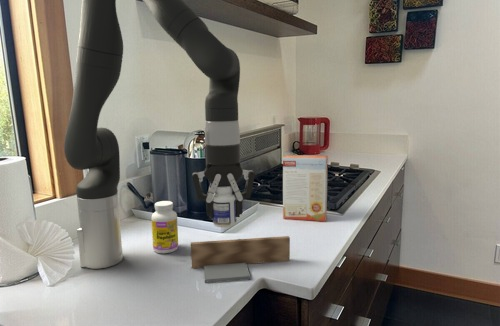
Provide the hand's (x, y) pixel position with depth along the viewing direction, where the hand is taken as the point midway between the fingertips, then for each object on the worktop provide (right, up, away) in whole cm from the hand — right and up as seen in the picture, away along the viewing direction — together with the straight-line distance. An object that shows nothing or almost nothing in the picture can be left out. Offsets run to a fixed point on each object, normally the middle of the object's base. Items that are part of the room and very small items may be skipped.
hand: (224, 216), depth 84 cm
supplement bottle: (-17, -11, +17) cm, 27 cm away
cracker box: (+24, -7, +41) cm, 48 cm away
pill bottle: (0, -2, 0) cm, 2 cm away
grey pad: (0, -14, +2) cm, 14 cm away
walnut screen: (+4, -13, +8) cm, 15 cm away
